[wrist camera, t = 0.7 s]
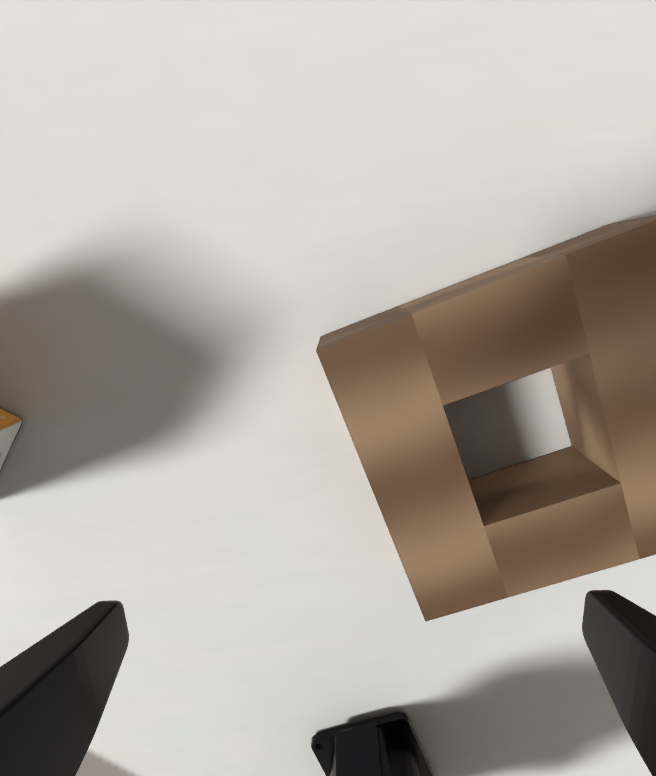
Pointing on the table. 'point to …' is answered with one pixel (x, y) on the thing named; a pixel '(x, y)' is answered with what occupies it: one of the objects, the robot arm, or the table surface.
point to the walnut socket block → (491, 369)
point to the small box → (7, 432)
